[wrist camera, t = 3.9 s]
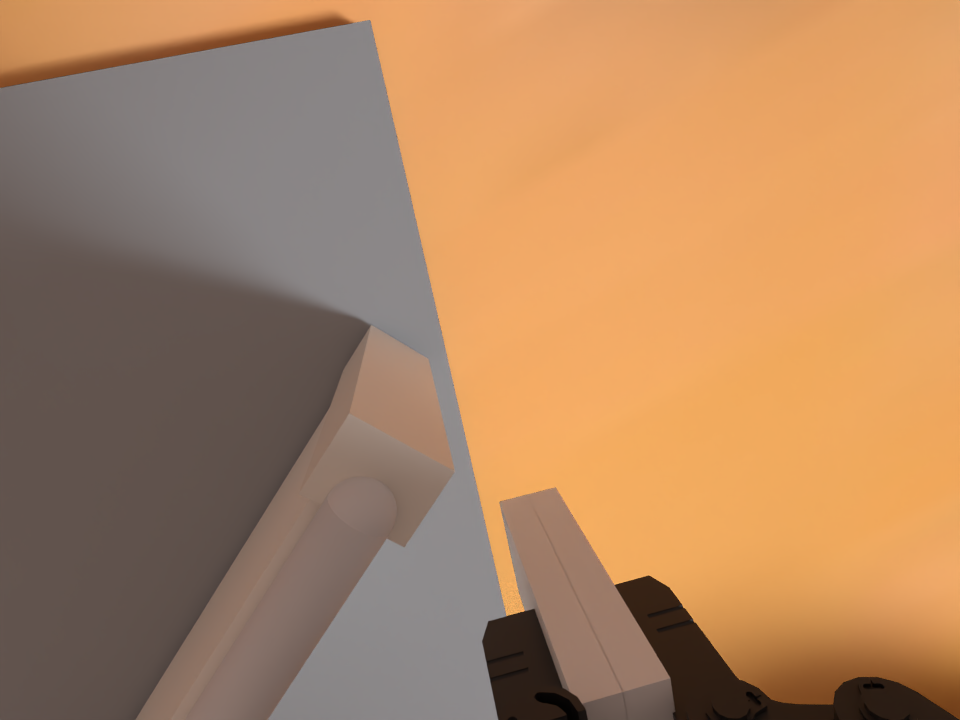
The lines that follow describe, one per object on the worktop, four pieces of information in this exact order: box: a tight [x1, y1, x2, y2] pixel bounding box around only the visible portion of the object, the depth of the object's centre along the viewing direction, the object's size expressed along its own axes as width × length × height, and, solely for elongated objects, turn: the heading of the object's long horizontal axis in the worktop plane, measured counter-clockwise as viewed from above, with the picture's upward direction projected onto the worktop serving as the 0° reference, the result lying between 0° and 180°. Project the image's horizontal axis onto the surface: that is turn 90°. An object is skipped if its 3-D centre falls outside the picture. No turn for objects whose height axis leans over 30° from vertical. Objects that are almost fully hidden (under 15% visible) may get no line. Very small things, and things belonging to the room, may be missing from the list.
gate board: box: [0, 20, 506, 720], centre depth 19 cm, size 27×21×1 cm
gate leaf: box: [135, 325, 455, 720], centre depth 14 cm, size 18×2×9 cm, turn 147°
